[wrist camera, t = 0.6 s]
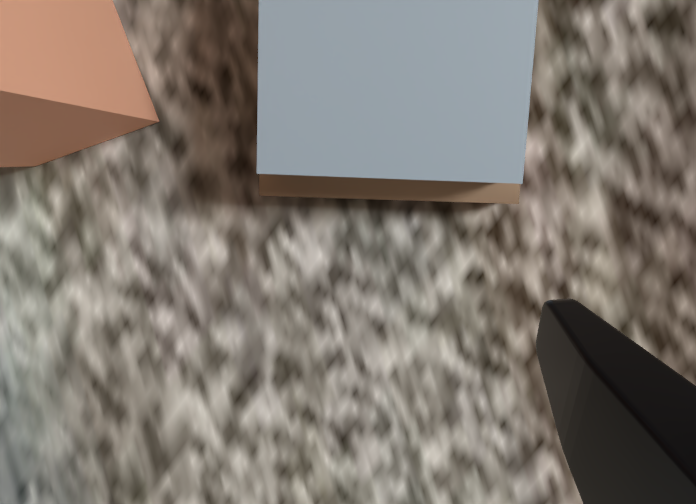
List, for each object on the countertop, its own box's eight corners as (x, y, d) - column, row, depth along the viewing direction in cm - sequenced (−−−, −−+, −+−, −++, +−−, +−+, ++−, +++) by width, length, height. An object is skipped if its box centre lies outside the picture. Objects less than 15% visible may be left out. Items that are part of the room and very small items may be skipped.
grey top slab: (501, 180, 20) (522, 183, 17) (268, 172, 20) (256, 173, 17) (521, -70, 18) (547, -106, 16) (272, -80, 18) (260, -117, 16)
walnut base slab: (499, 198, 22) (518, 203, 20) (269, 191, 22) (259, 195, 20) (518, -49, 21) (540, -77, 18) (271, -57, 21) (260, -86, 18)
